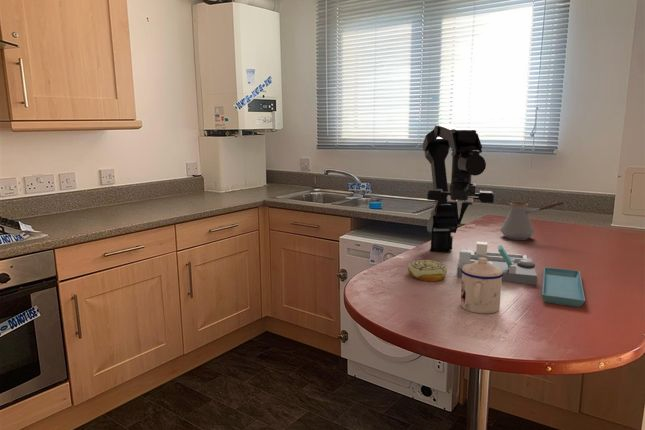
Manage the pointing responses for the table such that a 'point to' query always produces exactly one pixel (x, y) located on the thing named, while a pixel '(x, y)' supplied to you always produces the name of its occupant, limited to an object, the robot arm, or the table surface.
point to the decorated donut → (427, 270)
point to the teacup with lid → (481, 287)
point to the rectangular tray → (562, 287)
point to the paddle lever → (505, 256)
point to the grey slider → (465, 256)
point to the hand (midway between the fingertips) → (458, 224)
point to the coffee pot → (520, 221)
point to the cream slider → (481, 248)
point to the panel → (508, 267)
